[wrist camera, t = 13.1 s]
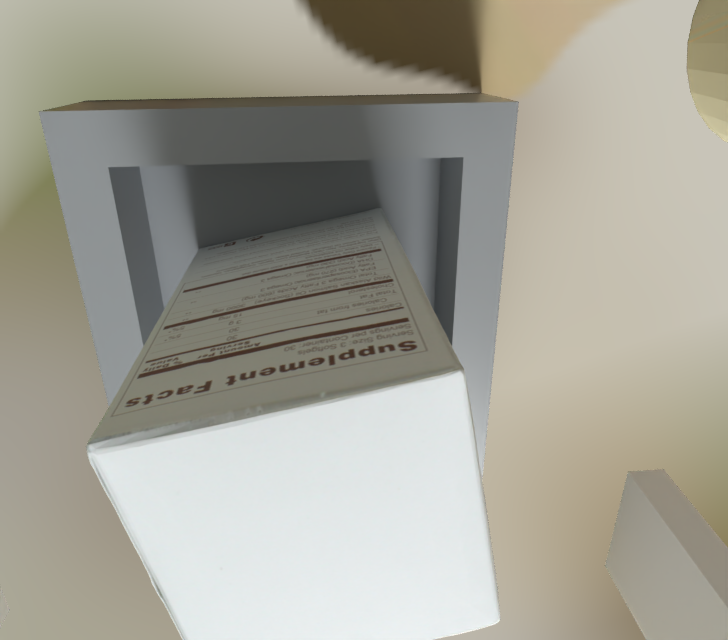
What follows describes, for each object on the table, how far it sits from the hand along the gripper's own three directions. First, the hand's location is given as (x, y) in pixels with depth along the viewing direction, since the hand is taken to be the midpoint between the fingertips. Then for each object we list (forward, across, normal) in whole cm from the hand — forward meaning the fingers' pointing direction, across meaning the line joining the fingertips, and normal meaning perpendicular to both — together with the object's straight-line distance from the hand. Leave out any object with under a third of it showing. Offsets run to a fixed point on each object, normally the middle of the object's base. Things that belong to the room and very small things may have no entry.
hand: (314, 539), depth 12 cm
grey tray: (+13, 0, 0) cm, 13 cm away
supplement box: (+13, 0, 0) cm, 13 cm away
